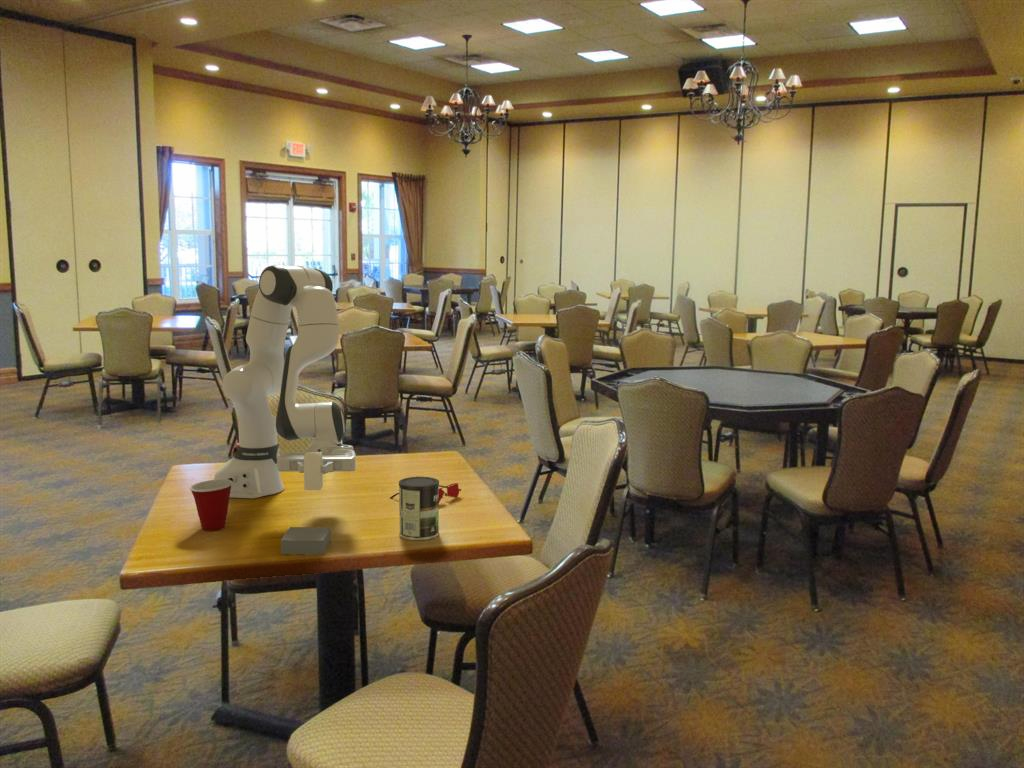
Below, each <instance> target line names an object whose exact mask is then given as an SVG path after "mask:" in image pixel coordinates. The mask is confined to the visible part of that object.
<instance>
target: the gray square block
mask: <svg viewBox="0 0 1024 768" xmlns="http://www.w3.org/2000/svg"><path fill="white" fill-rule="evenodd" d="M331 540H332V539H331V527H330V526H323V527H322V526H321V527H320V526H289V528H288V529H287V531H286V532H285V534H284V535H283V536H282V538H281V540H280V555H281V554H316V555H315V556H324V555H325V553H324V552H326V551H325V550H327V549H328V547H329V546H330V545H329V544H331Z"/></svg>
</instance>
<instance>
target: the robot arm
mask: <svg viewBox="0 0 1024 768" xmlns="http://www.w3.org/2000/svg"><path fill="white" fill-rule="evenodd" d="M258 288H259V289H258V291H257V293H256V295H255V299H254V301H253V304H252V307H251V312H250V317H249V321H248V325H247V332H246V334H245V341H246V344H247V346H248V347H249V362H248V363H246V364H242V365H239V366H236V367H235V368H232V369H231V370H230V371H228V372H227V373H226V374H225V375H224V377H223V380H222V389H223V393H224V396H226V397H227V399H229V400H230V402H231V403H232V405H233V407H234V411H235V414H236V419H237V425H238V442H237V443H236V444H234V445H233V447H232V450H231V455H232V456H233V457H232V458H231V459H229V460H228V461H227V462H225V463H224V464H223V465H222V466H220V467H219V468H218V469H217V470H216V472H215V474H214V477H213V480H218V479H226V480H231V481H233V484H232V485H231V490H230V497H229V498H236V499H237V498H238V499H258V498H261V497H265V496H271V495H276V494H278V493H280V492H283V490H284V489H285V486H284V484H283V480H282V476H281V473H282V472H283V473H287V472H297V473H299V474H302V473H303V474H304V455H305V453H306V452H322V465H321V473H323V475H325V474H328V473H332V472H333V473H334V472H355V471H356V470H357V461H356V460H357V459H356V457H357V456H356V452H355V450H354V446H353V445H349V444H343V439H344V437H345V435H346V431H347V430H346V429H347V428H346V427H347V424H346V422H347V421H346V416H345V413H344V410H343V409H342V408H341V406H339V404H337V403H336V402H335V401H320V402H319V401H318V402H317V401H316V402H308V403H297V402H296V400H297V391H298V383H299V376H300V373H301V372H302V370H303V369H304V368H306V367H307V366H309V365H310V364H313V363H315V362H317V361H320V360H322V359H324V358H326V357H328V356H329V355H330V354H332V353H333V352H334V351H335V349H336V348H337V346H338V344H339V340H340V339H339V336H340V335H339V334H340V333H339V332H340V329H339V316H338V308H337V303H336V300H335V296H334V294H333V289H334V287H333V281H332V277H331V276H330V275H329V274H328V273H327V272H326V271H323V270H321V269H318V268H312V267H306V266H303V265H302V266H300V265H282V264H274V265H270V266H267V267H265V268H264V269H263V270H262V271H261V273H260V276H259V279H258ZM294 308H295V309H296V310H297V312H296V313H297V336H296V339H295V341H294V343H293V344H292V345H291V346H289V347H288V348H287V351H286V353H285V350H284V349H285V343H286V338H287V333H288V329H289V324H290V320H291V314H292V309H294ZM284 353H285V355H284ZM284 357H285V358H284ZM278 393H279V400H278V406H277V412H276V415H274V414H273V413H272V411H271V408H270V405H269V401H268V397H271V396H274V395H275V396H276V394H278ZM278 435H279V436H280V437H282V438H283V439H285V440H286V441H288V442H289V441H296V440H301V439H310V438H314V439H313V440H312V442H310V444H309V445H308V447H307V448H306V450H305V451H304V452H285V453H283V454H281V455H280V446H279V445H280V444H279V443H278Z"/></svg>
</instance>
